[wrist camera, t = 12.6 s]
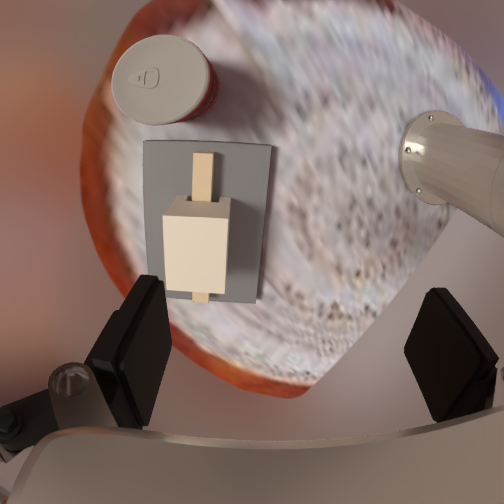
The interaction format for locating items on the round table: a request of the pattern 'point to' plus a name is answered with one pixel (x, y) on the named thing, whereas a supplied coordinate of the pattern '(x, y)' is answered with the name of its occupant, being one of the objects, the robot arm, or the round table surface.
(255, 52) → the round table surface
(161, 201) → the mount board
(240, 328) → the round table surface
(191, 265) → the cabinet block
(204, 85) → the canned food
